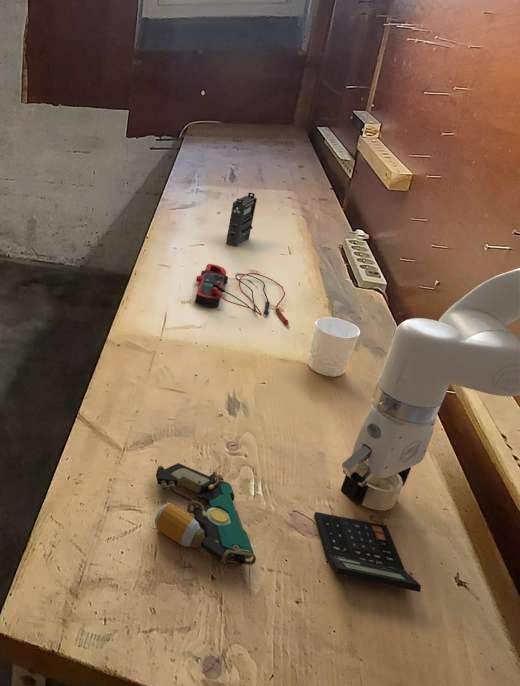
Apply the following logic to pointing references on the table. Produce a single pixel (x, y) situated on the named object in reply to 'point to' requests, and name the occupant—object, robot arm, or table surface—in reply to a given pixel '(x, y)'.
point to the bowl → (381, 490)
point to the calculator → (363, 551)
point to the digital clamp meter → (213, 288)
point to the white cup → (332, 345)
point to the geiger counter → (241, 219)
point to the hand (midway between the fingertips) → (371, 488)
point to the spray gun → (204, 515)
